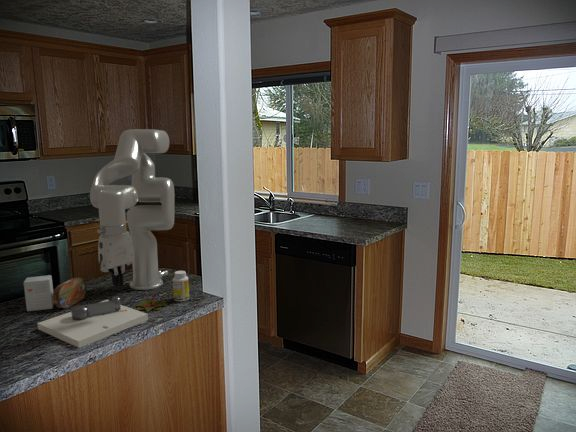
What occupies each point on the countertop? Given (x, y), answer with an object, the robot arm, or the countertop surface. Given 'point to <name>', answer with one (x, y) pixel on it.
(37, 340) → the countertop surface
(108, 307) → the grey knobbed bar
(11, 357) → the countertop surface
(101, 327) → the base
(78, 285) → the tin
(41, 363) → the countertop surface
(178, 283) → the supplement bottle
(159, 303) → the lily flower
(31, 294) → the small box
